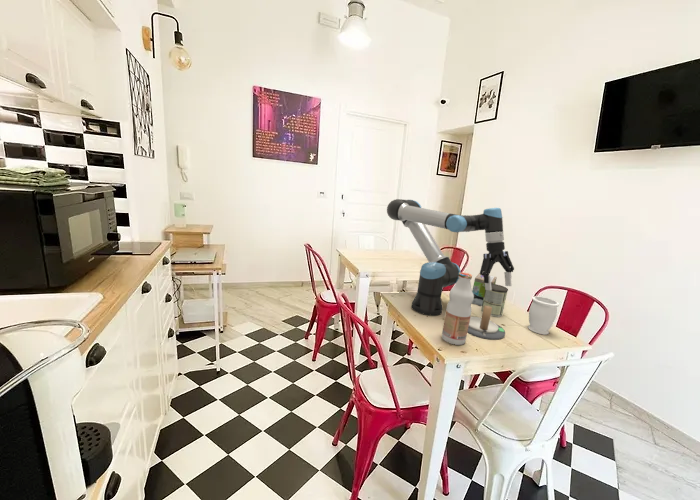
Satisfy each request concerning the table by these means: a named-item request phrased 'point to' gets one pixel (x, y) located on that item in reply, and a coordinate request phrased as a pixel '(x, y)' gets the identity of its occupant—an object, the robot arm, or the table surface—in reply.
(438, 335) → the table surface
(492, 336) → the dial base
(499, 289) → the coffee can
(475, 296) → the tea box
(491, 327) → the tuner dial
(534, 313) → the jar
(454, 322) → the fruit juice
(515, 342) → the table surface
